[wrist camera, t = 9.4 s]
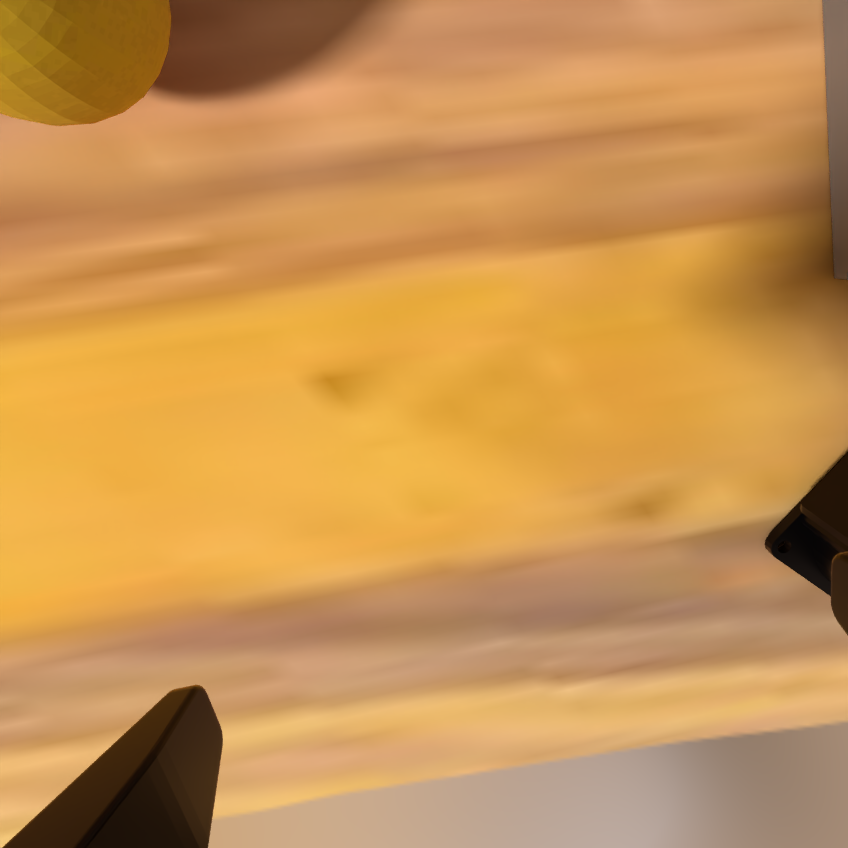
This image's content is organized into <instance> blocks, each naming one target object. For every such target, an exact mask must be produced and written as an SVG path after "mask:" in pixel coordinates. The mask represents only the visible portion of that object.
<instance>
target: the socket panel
mask: <svg viewBox="0 0 848 848" xmlns="http://www.w3.org/2000/svg"><path fill="white" fill-rule="evenodd" d="M822 2H823V25H824V49H825V72H826V96H827V120H828V143H829V167H830V190H831V214H832V238H833V261H834V278H838V279H845V280H848V0H822Z"/></svg>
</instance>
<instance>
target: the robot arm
mask: <svg viewBox="0 0 848 848" xmlns="http://www.w3.org/2000/svg"><path fill="white" fill-rule="evenodd" d="M783 541H785V542H784V544H783V545H782V546H781V547H778V545H779V544H780V543H781V542H783ZM765 547H766V549H767V550H768V551H769V552H770V553H771V554H772V555H773V556H774V557H775V558H777V559H778V560H780V561H781V562H783V563H784V564H785V565H787V566H788V567H790V568H791V569H793V570H794V571H795V572H797V573H798V574H800V575H801V576H803V577H804V578H805V579H807V580H808V581H810V582H811V583H813V584H814V585H815V586H817V587H818V588H820V589H821V590H823V591H824V592H825V593H827V594H828V595H830V596H831V606H832V610H833V613H834V616H835V617H836V619H837V621H838V623H839V624H840V625H841V627H842V628H843V629H844V631H845V632H846V634H847V635H848V453H847V454H846V455H845V456H844V457H843V458H842V459H841V461H840V462H839V463H838V464H837V465H836V466H835V467H834V468H833V469H832V470H831V471H830V472H829V473H828V474H827V475H826V476H825V477H824V478H823V479H822V480H821V481H820V482H819V483H818V484H817V485H816V486H815V488H814V489H813V490H812V491H811V492H810V493H809V494H808V495H807V496H806V497H805V498H804V499H803V500H802V501H801V502H800V503H799V504H798V505H797V506H796V507H795V508H794V509H793V510H792V511H791V512H790V513H789V514H788V516H787V517H786V518H785V519H784V520H783V521H782V522H781V523H780V524H779V525H778V526H777V527H776V528H775V529H774V530H773V531H772V532H771V533H770V534H769V535H768V537H767V538H766V540H765ZM222 745H223V737H222V730H221V726H220V724H219V721H218V719H217V717H216V714H215V712H214V709H213V707H212V705H211V702H210V700H209V697H208V695H207V693H206V691H205V689H204V688H203V687H202V686H199V685H193V686H188V687H183V688H178V689H174V690H172V691H170V692H169V693H168V694H167V695H166V696H164V697H163V698H162V699H161V700H160V701H159V702H158V703H157V704H156V705H155V706H154V707H153V708H152V709H151V710H149V711H148V712H147V713H146V714H145V715H144V716H143V717H142V718H141V719H140V720H139V721H138V722H137V723H136V724H134V725H133V726H132V727H131V728H130V729H129V730H128V731H127V732H126V733H125V734H124V735H123V736H122V737H120V738H119V739H118V740H117V741H116V742H115V743H114V744H113V745H112V746H111V747H110V748H109V749H108V750H107V751H105V752H104V753H103V754H102V755H101V756H100V757H99V758H98V759H97V760H96V761H95V762H94V763H93V764H92V765H90V766H89V767H88V768H87V769H86V770H85V771H84V772H83V773H82V774H81V775H80V776H79V777H78V778H76V779H75V780H74V781H73V782H72V783H71V784H70V785H69V786H68V787H67V788H66V789H65V790H64V791H63V792H61V793H60V794H59V795H58V796H57V797H56V798H55V799H54V800H53V801H52V802H51V803H50V804H49V805H47V806H46V807H45V808H44V809H43V810H42V811H41V812H40V813H39V814H38V815H37V816H36V817H35V818H34V819H32V820H31V821H30V822H29V823H28V824H27V825H26V826H25V827H24V828H23V829H22V830H21V831H20V832H19V833H17V834H16V835H15V836H14V837H13V838H12V839H11V840H10V841H9V842H8V843H7V844H6V845H5V846H3V847H2V848H208V843H209V836H210V830H211V823H212V816H213V809H214V802H215V795H216V788H217V781H218V774H219V767H220V760H221V753H222Z"/></svg>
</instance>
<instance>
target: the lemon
mask: <svg viewBox="0 0 848 848" xmlns="http://www.w3.org/2000/svg"><path fill="white" fill-rule="evenodd" d="M170 29H171V12H170V3H169V0H0V113H1V114H4V115H7V116H10V117H13V118H18V119H23V120H28V121H33V122H38V123H43V124H48V125H55V126H65V125H78V124H91V123H96V122H99V121H102V120H104V119H107V118H110V117H112V116H115V115H118V114H120V113H123V112H125V111H126V110H127V109H129V108H130V107H131V106H132V105H134V104H135V103H136V102H138V101H139V100H140V99H142V98H143V97H144V96H145V94H146V93H147V92H148V90H149V89H150V87H151V86H152V84H153V83H154V82H155V80H156V79H157V77H158V76H159V74H160V71H161V68H162V66H163V63H164V60H165V57H166V55H167V52H168V48H169V39H170Z"/></svg>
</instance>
